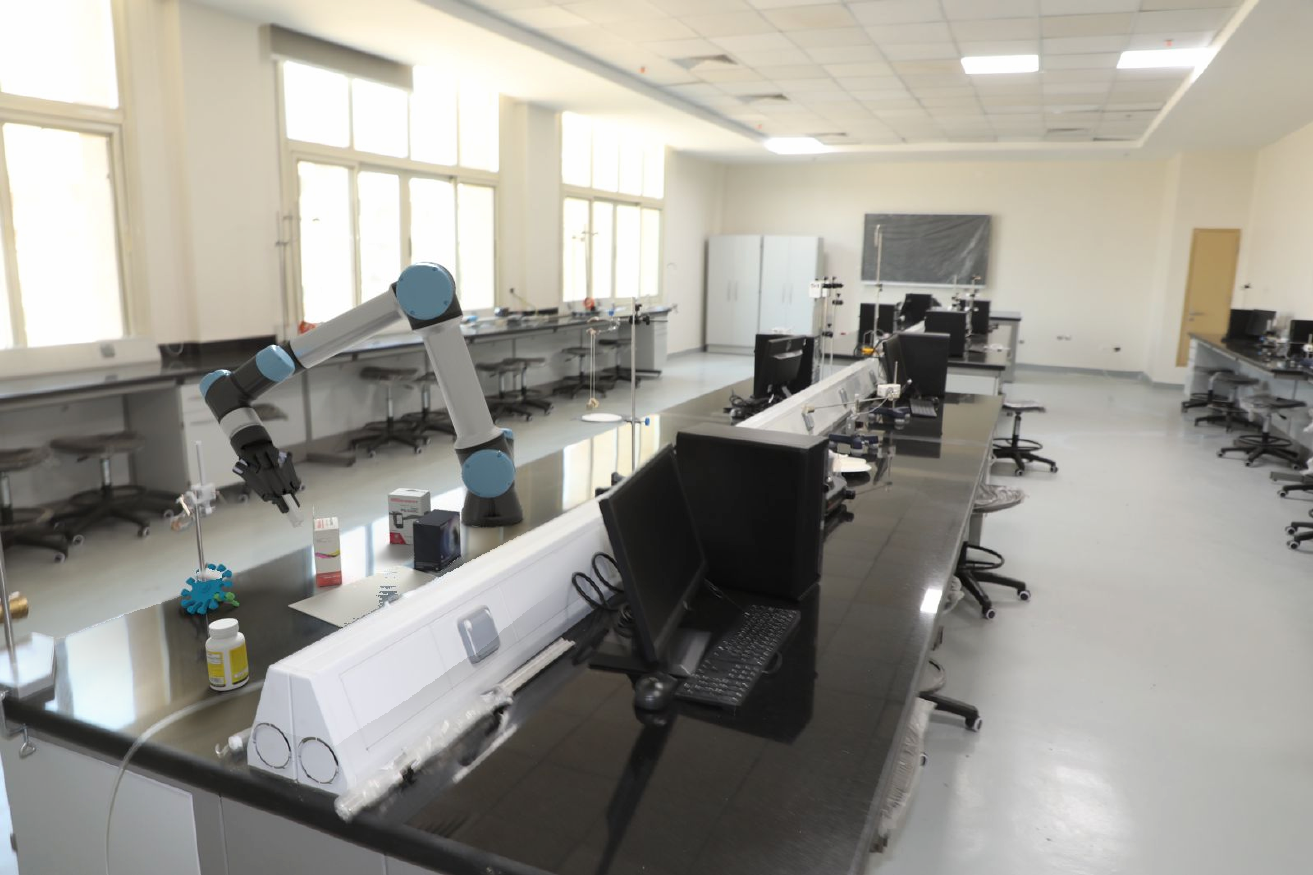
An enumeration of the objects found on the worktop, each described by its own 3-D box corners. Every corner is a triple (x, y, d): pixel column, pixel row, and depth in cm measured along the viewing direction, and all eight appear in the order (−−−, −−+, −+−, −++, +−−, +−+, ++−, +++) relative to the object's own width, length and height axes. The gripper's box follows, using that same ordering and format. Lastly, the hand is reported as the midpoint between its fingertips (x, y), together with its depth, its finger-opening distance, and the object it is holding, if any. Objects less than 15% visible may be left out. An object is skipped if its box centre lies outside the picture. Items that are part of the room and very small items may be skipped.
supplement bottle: (249, 672, 133) (244, 613, 131) (248, 687, 128) (242, 627, 126) (211, 678, 131) (204, 619, 129) (208, 694, 126) (201, 633, 124)
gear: (167, 602, 155) (202, 555, 159) (188, 614, 160) (222, 568, 164) (208, 621, 151) (243, 572, 155) (229, 633, 156) (262, 585, 160)
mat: (400, 566, 179) (400, 565, 179) (459, 584, 169) (459, 584, 169) (288, 606, 158) (288, 605, 158) (348, 630, 148) (348, 629, 148)
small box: (441, 573, 175) (439, 525, 173) (412, 570, 176) (410, 522, 174) (463, 556, 185) (461, 510, 183) (435, 553, 187) (433, 508, 184)
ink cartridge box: (343, 584, 169) (338, 513, 166) (317, 587, 167) (311, 516, 164) (341, 569, 176) (336, 502, 173) (315, 573, 174) (310, 504, 171)
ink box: (388, 543, 193) (385, 493, 191) (399, 536, 198) (396, 487, 195) (423, 546, 191) (420, 495, 189) (433, 539, 196) (431, 490, 194)
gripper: (269, 439, 187) (320, 525, 182) (211, 450, 177) (263, 541, 171) (281, 418, 183) (333, 505, 178) (222, 428, 173) (276, 521, 167)
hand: (299, 523), depth 174 cm, fingers closed
